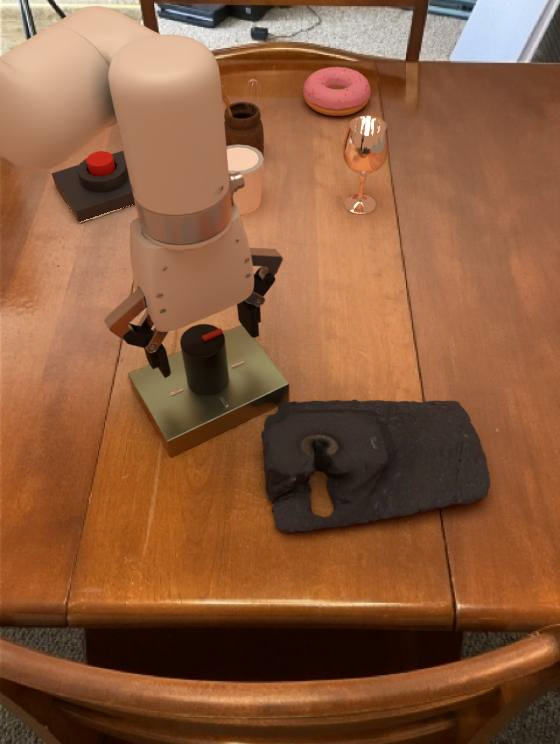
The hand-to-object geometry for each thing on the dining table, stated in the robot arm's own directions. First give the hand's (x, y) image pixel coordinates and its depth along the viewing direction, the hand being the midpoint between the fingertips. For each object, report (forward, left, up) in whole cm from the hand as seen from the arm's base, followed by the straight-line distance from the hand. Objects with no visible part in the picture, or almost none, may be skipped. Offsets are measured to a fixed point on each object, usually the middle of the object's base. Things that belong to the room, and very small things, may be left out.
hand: (206, 347), depth 67 cm
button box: (+4, +40, -8) cm, 41 cm away
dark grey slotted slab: (+10, -16, -8) cm, 20 cm away
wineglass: (+33, +19, -8) cm, 39 cm away
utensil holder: (+25, +38, -8) cm, 46 cm away
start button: (+4, +40, -4) cm, 41 cm away
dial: (0, 0, -5) cm, 5 cm away
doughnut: (+45, +43, -8) cm, 63 cm away
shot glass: (+19, +28, -8) cm, 35 cm away
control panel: (0, 0, -8) cm, 8 cm away
